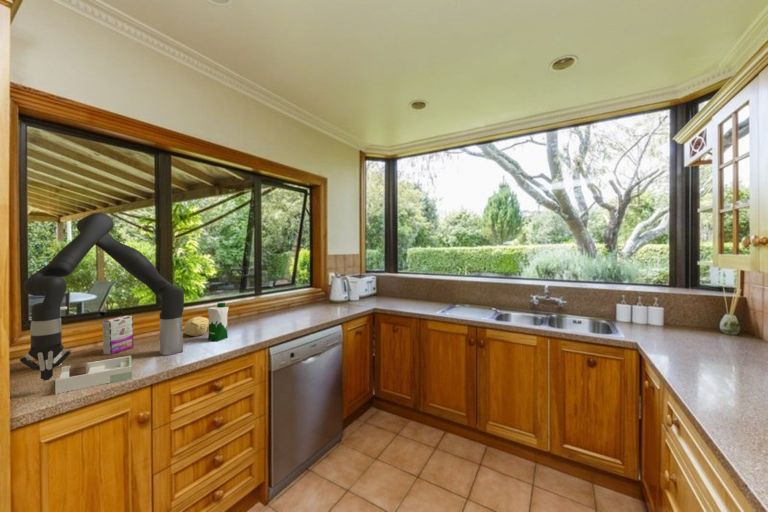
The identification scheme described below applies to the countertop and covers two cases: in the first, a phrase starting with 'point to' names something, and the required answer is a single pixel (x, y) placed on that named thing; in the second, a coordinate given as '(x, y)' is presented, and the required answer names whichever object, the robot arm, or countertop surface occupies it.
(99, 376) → the track
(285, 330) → the countertop surface
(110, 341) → the candy bar box
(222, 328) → the milk carton
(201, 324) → the sculpture
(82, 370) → the walnut block
